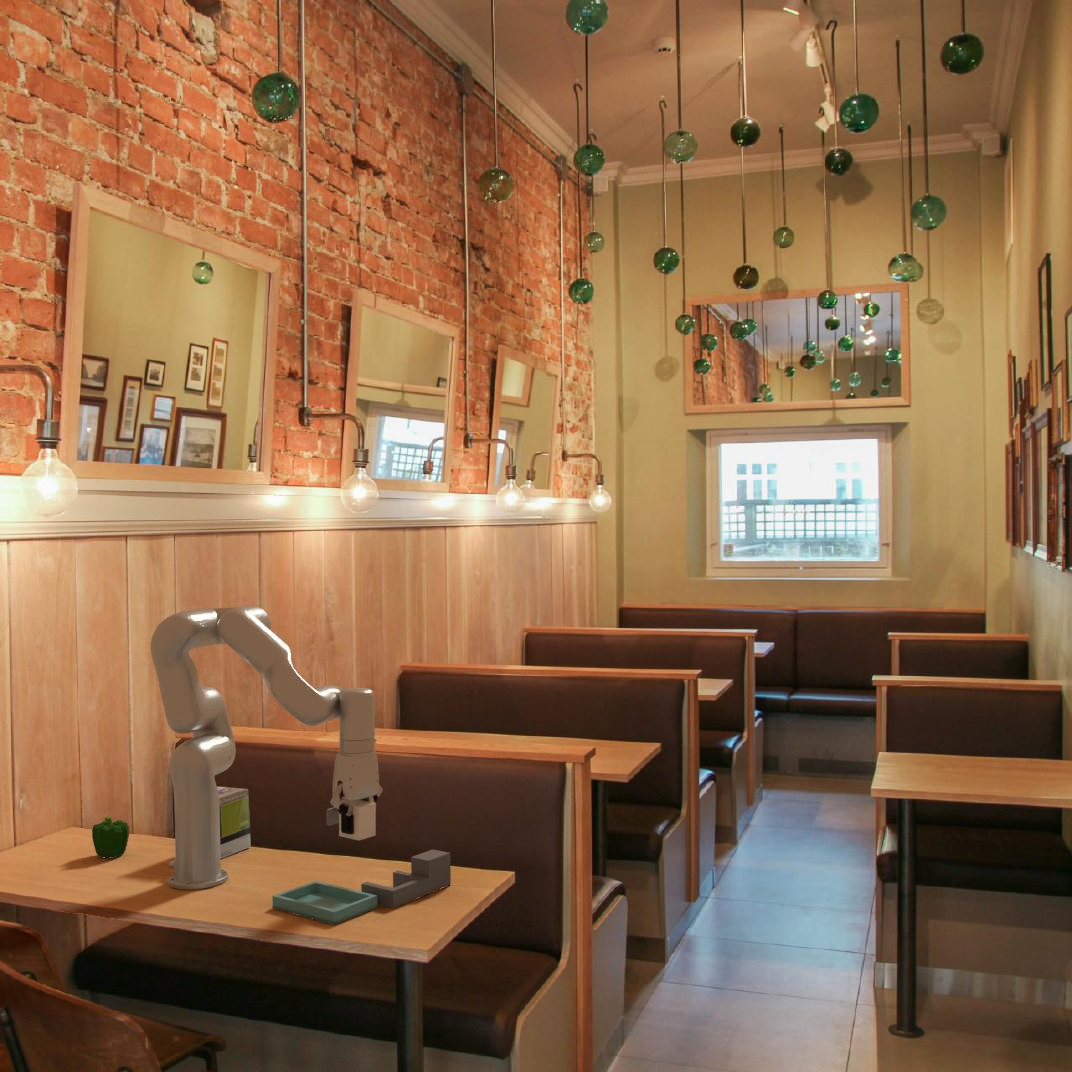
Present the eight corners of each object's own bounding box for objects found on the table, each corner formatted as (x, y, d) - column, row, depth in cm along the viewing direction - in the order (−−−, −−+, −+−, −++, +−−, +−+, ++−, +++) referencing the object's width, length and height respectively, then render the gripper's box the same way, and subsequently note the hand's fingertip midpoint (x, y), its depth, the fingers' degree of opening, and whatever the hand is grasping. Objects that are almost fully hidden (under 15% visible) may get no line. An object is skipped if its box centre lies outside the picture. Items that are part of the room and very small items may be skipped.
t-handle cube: (324, 832, 242) (324, 800, 242) (341, 827, 246) (341, 796, 246) (358, 840, 236) (359, 807, 236) (375, 835, 240) (375, 802, 240)
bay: (361, 900, 231) (361, 866, 231) (419, 878, 246) (419, 846, 246) (393, 908, 226) (392, 873, 226) (450, 885, 241) (450, 852, 241)
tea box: (220, 844, 277) (219, 784, 277) (251, 848, 273) (250, 788, 273) (175, 860, 264) (174, 797, 264) (208, 865, 259) (207, 801, 259)
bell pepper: (107, 850, 273) (106, 809, 273) (135, 852, 270) (135, 811, 270) (84, 860, 265) (83, 818, 265) (113, 862, 262) (112, 820, 262)
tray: (272, 908, 228) (272, 896, 228) (316, 892, 237) (316, 880, 237) (334, 924, 217) (334, 912, 217) (377, 907, 227) (377, 895, 227)
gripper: (372, 738, 249) (372, 819, 249) (315, 750, 235) (315, 836, 235) (397, 742, 244) (396, 824, 244) (340, 754, 230) (340, 842, 230)
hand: (356, 829), depth 240 cm, fingers closed on t-handle cube, 5 cm apart
